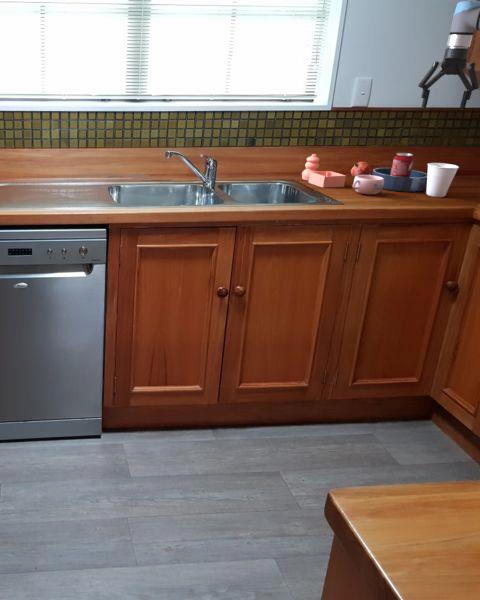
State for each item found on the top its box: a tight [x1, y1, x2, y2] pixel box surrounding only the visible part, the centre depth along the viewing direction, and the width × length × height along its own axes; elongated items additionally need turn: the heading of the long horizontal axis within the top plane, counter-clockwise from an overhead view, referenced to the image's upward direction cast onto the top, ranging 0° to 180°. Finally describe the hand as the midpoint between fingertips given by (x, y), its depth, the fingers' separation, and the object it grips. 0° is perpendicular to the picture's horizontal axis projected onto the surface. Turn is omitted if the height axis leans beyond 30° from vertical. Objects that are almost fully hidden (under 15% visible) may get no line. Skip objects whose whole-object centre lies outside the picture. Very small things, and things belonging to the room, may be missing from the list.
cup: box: [425, 162, 460, 198], centre depth 220 cm, size 10×10×11 cm
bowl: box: [371, 167, 428, 193], centre depth 233 cm, size 19×19×6 cm
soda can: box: [390, 152, 414, 177], centre depth 232 cm, size 7×7×12 cm
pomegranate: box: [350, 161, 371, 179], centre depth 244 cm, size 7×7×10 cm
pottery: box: [301, 153, 347, 189], centre depth 237 cm, size 18×10×10 cm, turn 16°
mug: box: [352, 174, 384, 196], centre depth 221 cm, size 12×10×6 cm
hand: (442, 108), depth 230 cm, fingers open, 13 cm apart
